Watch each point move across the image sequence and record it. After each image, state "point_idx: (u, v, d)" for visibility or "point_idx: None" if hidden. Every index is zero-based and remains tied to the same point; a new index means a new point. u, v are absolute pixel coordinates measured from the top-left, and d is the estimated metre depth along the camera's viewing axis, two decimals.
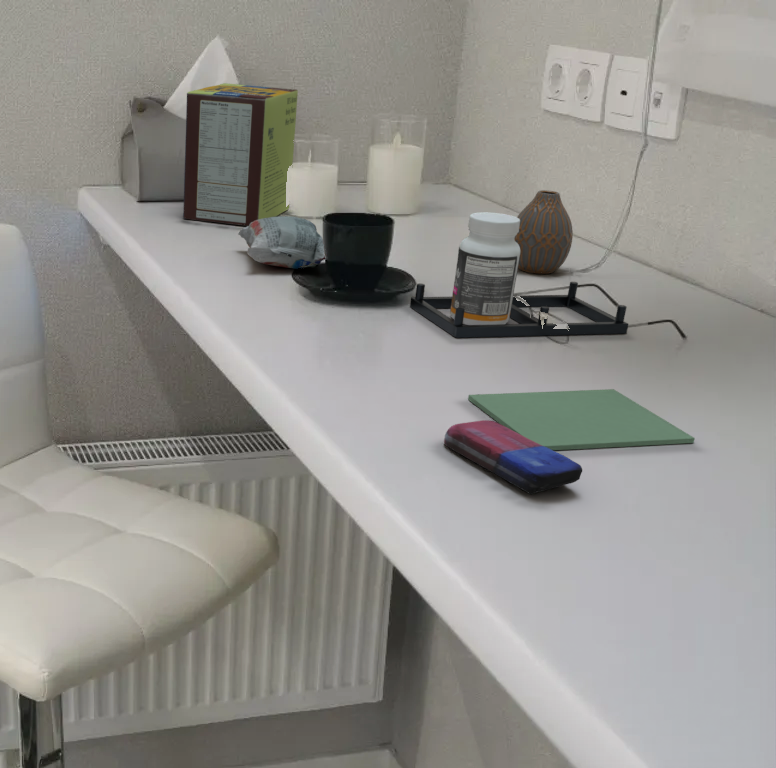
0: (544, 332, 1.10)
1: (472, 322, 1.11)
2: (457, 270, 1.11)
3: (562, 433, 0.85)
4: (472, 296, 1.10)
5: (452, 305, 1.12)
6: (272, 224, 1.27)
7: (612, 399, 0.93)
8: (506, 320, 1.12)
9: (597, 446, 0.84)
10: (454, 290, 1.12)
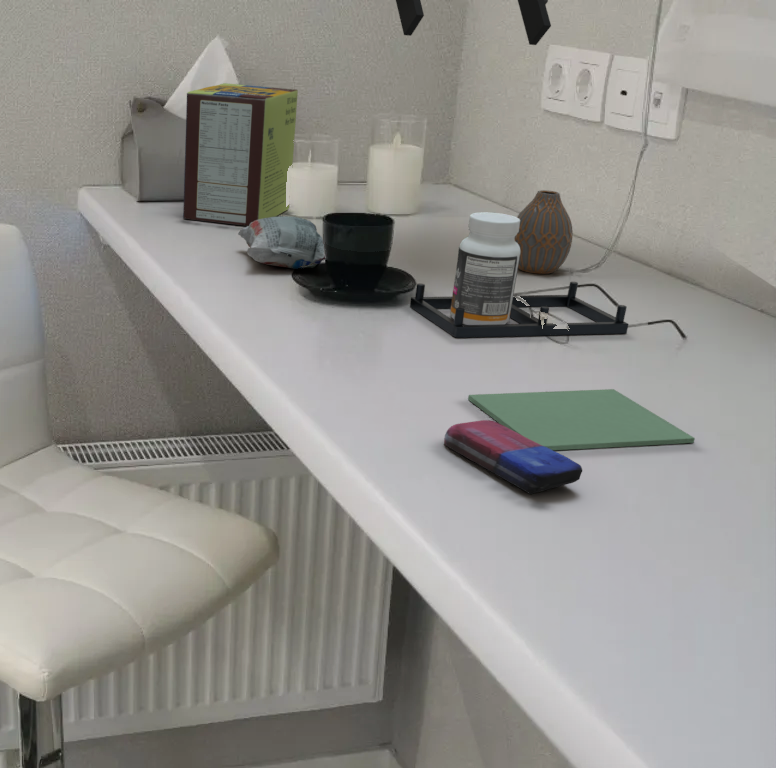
0: (544, 332, 1.10)
1: (472, 322, 1.11)
2: (457, 269, 1.11)
3: (562, 433, 0.85)
4: (472, 296, 1.10)
5: (452, 305, 1.12)
6: (272, 224, 1.27)
7: (612, 399, 0.93)
8: (506, 320, 1.12)
9: (597, 446, 0.84)
10: (454, 290, 1.12)
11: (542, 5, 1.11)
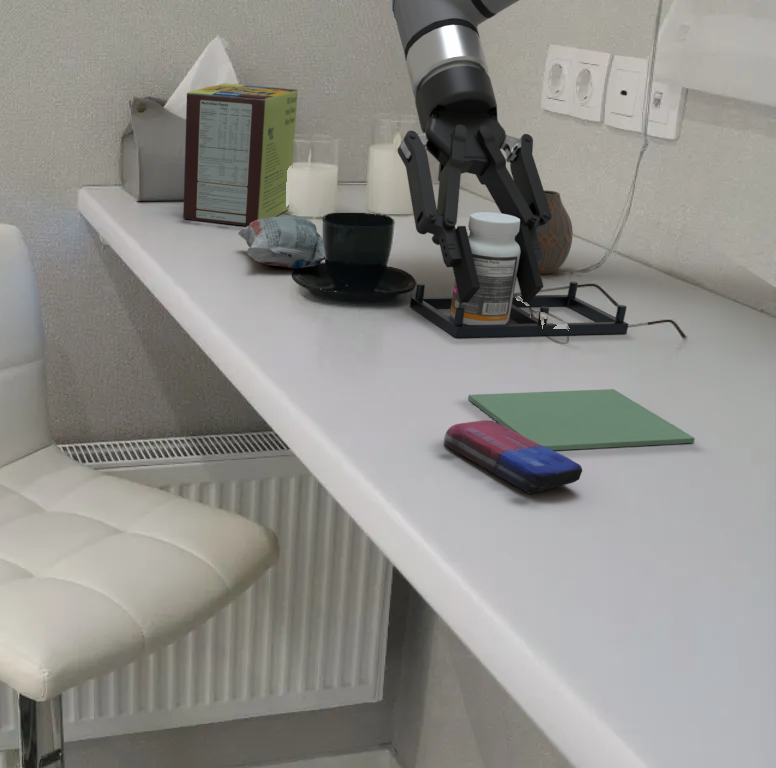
0: (544, 332, 1.10)
1: (472, 322, 1.11)
2: None
3: (562, 433, 0.85)
4: None
5: (452, 305, 1.12)
6: (272, 224, 1.27)
7: (612, 399, 0.93)
8: (506, 320, 1.12)
9: (597, 446, 0.84)
10: (454, 290, 1.12)
11: (534, 265, 1.09)
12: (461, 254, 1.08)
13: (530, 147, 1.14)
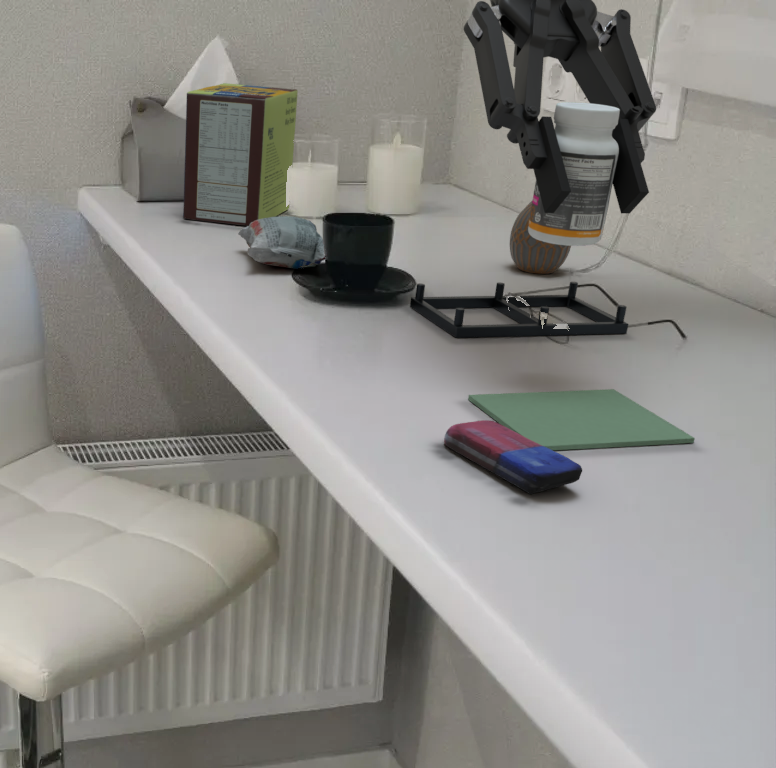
0: (544, 332, 1.10)
1: (557, 239, 0.89)
2: None
3: (562, 433, 0.85)
4: (559, 206, 0.88)
5: (531, 219, 0.91)
6: (272, 224, 1.27)
7: (612, 399, 0.93)
8: (599, 237, 0.90)
9: (597, 446, 0.84)
10: (534, 200, 0.90)
11: (637, 166, 0.87)
12: (546, 151, 0.86)
13: (627, 25, 0.92)
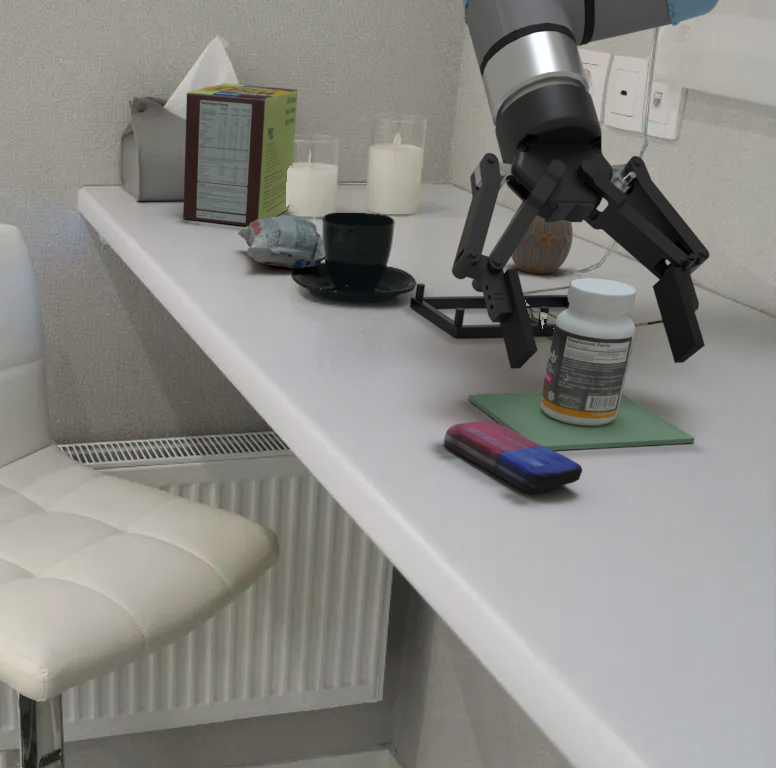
0: (544, 332, 1.10)
1: (572, 420, 0.86)
2: (552, 352, 0.86)
3: (562, 433, 0.85)
4: (573, 388, 0.85)
5: (544, 396, 0.88)
6: (272, 224, 1.27)
7: None
8: (614, 416, 0.87)
9: (597, 446, 0.84)
10: (547, 377, 0.87)
11: (692, 317, 0.86)
12: (512, 306, 0.83)
13: (645, 172, 0.89)
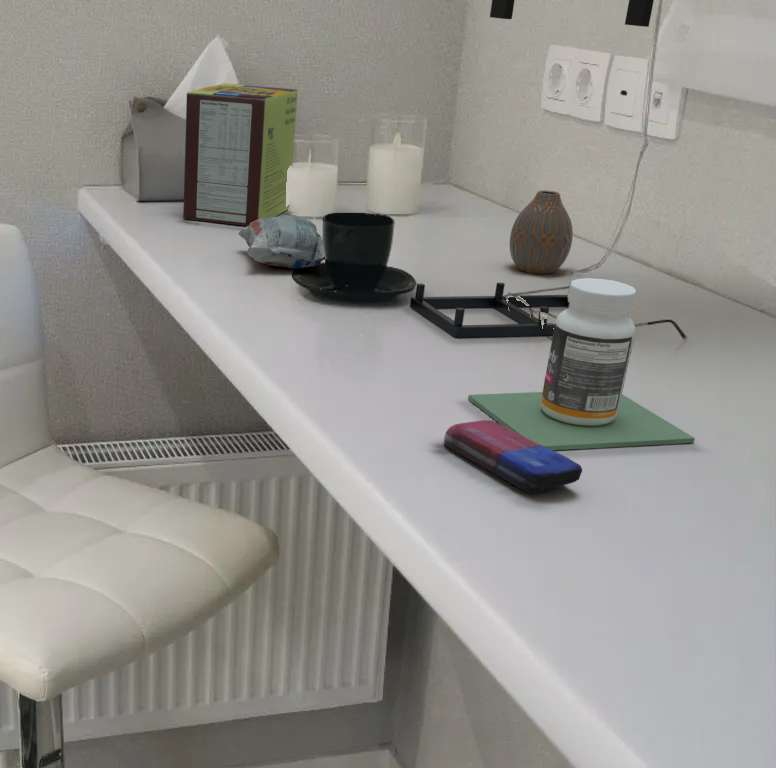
0: (544, 332, 1.10)
1: (572, 420, 0.86)
2: (552, 352, 0.86)
3: (562, 433, 0.85)
4: (573, 388, 0.85)
5: (544, 396, 0.88)
6: (272, 224, 1.27)
7: None
8: (614, 416, 0.87)
9: (597, 446, 0.84)
10: (547, 377, 0.87)
11: None
12: None
13: None
